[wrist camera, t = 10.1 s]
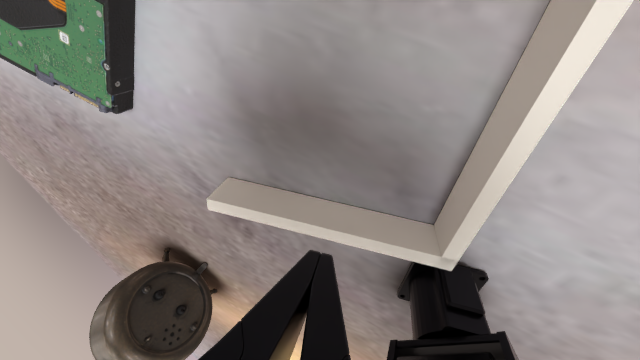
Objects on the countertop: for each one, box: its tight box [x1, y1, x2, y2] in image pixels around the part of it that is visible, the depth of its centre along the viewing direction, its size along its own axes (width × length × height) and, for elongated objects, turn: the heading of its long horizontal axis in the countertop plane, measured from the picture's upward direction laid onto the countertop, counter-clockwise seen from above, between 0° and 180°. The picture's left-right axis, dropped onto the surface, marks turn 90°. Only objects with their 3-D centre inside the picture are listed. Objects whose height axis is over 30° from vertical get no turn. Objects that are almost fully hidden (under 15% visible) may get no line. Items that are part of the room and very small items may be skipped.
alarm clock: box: [89, 248, 217, 360], centre depth 26 cm, size 11×5×16 cm, turn 38°
